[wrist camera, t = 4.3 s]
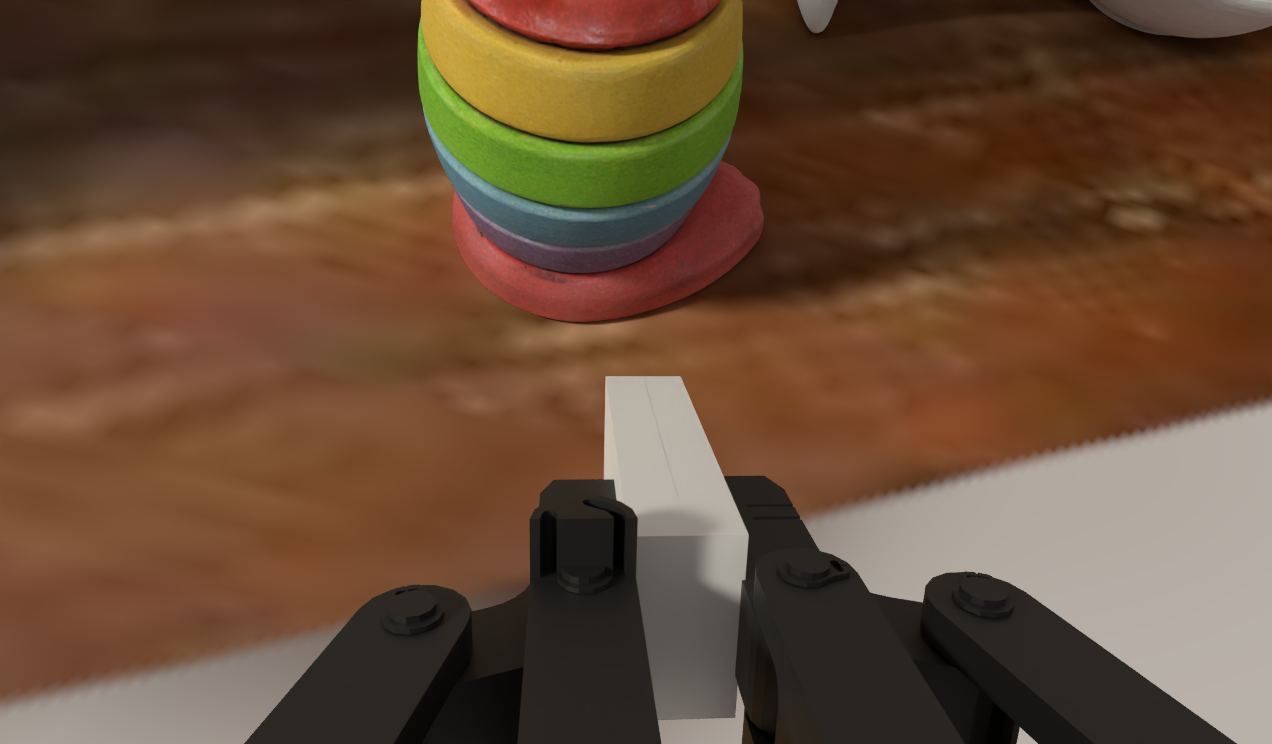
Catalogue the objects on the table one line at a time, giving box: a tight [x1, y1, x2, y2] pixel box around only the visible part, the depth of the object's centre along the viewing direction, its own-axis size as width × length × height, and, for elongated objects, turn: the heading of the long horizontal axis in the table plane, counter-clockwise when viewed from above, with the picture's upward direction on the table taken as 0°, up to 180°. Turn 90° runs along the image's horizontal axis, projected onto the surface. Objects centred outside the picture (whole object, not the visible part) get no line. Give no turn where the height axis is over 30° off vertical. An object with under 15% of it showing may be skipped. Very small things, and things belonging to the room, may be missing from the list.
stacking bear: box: [418, 0, 764, 322], centre depth 22 cm, size 11×10×18 cm
